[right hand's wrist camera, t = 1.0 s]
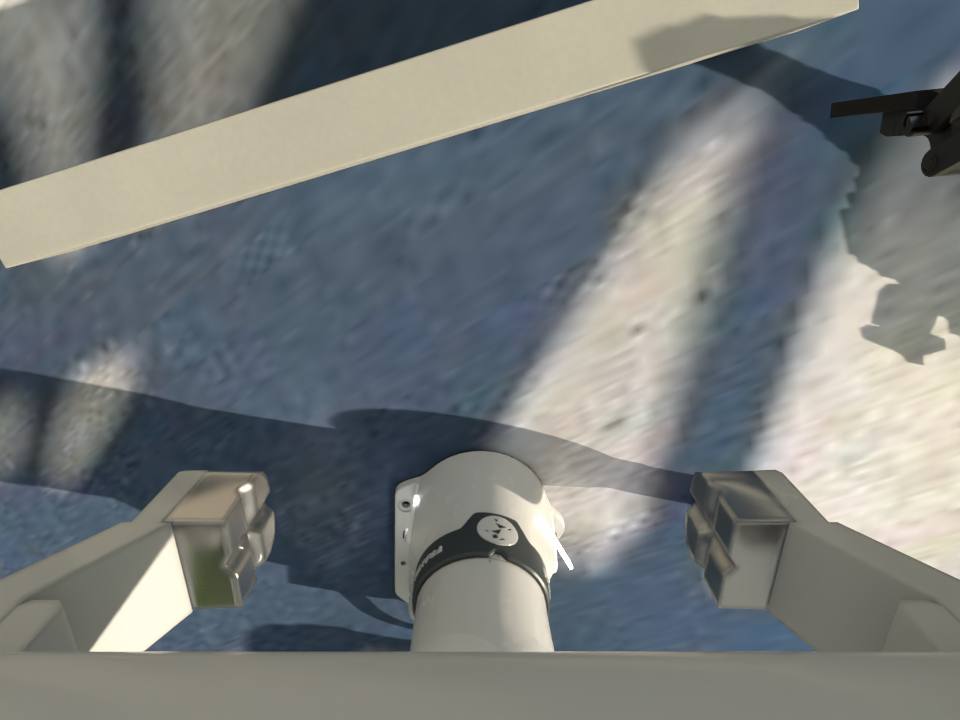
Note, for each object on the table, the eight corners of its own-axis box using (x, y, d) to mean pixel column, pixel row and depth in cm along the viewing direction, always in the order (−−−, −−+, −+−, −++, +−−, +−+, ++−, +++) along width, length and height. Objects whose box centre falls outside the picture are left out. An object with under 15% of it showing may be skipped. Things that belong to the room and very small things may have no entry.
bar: (73, 251, 50) (5, 268, 42) (41, 192, 48) (-36, 200, 41) (797, 31, 43) (859, 8, 36) (792, -46, 41) (857, -86, 34)
